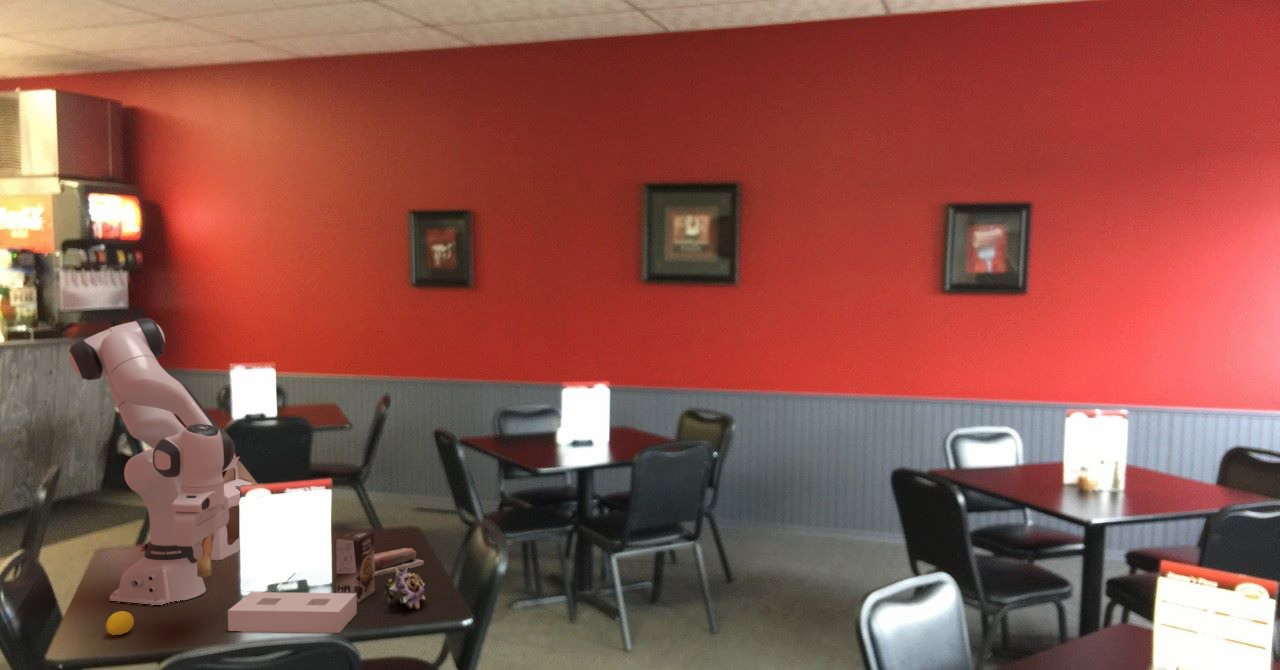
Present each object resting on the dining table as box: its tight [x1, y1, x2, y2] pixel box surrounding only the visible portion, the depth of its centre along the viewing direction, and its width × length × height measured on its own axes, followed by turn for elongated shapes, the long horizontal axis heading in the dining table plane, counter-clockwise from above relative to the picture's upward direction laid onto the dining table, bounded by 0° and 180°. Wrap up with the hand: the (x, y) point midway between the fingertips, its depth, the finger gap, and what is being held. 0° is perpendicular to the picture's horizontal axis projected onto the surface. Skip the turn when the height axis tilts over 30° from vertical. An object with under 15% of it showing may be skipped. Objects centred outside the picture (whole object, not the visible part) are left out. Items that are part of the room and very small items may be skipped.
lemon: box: [105, 610, 135, 636], centre depth 227 cm, size 7×5×5 cm
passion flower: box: [382, 568, 426, 610], centre depth 246 cm, size 11×11×12 cm
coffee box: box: [335, 530, 376, 603], centre depth 253 cm, size 9×6×16 cm
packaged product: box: [374, 547, 425, 577], centre depth 278 cm, size 18×5×10 cm
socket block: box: [227, 591, 358, 634], centre depth 235 cm, size 26×13×5 cm, turn 89°
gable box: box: [211, 453, 259, 561], centre depth 295 cm, size 22×13×28 cm, turn 170°
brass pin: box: [197, 534, 212, 578], centre depth 227 cm, size 3×3×10 cm
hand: (203, 554), depth 227 cm, fingers closed on brass pin, 3 cm apart
